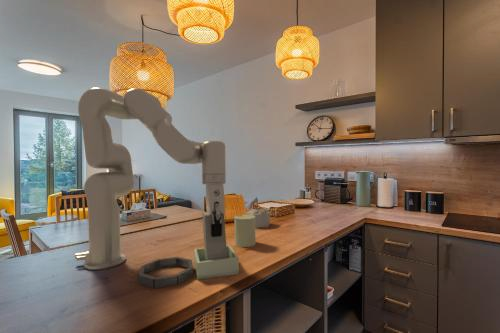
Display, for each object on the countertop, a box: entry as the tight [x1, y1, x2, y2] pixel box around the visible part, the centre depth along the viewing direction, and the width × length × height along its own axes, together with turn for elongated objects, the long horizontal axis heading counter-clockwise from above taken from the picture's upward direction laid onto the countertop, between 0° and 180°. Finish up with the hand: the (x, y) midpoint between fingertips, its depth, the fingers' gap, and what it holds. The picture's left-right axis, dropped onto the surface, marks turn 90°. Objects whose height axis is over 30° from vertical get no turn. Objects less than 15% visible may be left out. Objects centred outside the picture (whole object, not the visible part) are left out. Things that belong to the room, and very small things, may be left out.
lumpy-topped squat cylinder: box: [245, 208, 271, 229], centre depth 136 cm, size 10×13×9 cm
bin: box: [193, 244, 240, 281], centre depth 80 cm, size 13×13×5 cm
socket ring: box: [137, 256, 194, 289], centre depth 76 cm, size 15×15×2 cm
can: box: [233, 214, 257, 248], centre depth 105 cm, size 9×9×12 cm
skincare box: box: [202, 210, 227, 261], centre depth 80 cm, size 8×7×16 cm
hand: (214, 232), depth 80 cm, fingers closed on skincare box, 8 cm apart
